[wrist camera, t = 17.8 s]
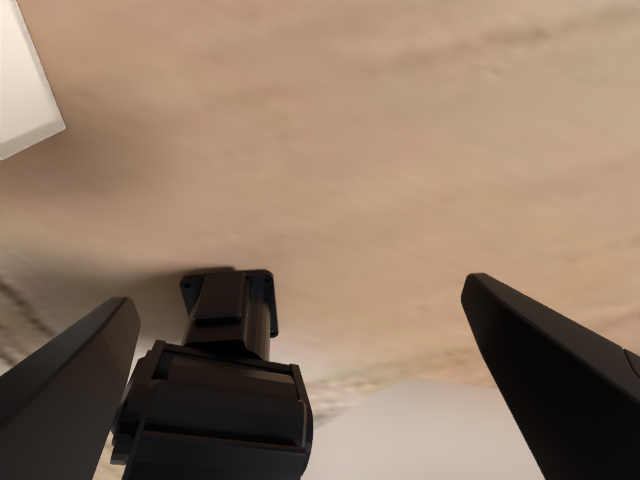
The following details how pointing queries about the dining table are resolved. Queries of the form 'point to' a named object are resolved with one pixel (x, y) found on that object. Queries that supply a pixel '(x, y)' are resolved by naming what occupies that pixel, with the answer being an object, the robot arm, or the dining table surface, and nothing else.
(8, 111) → the box
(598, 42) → the dining table surface
